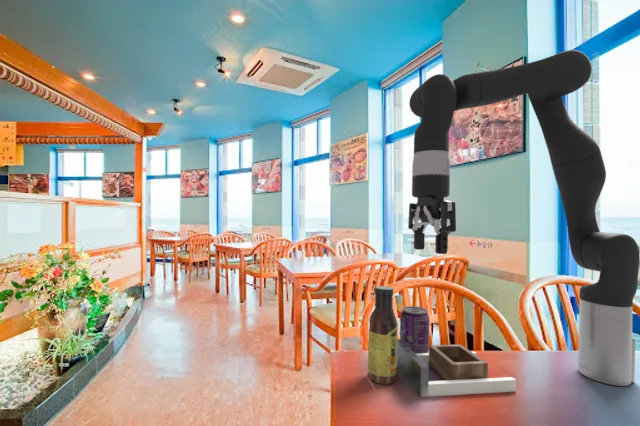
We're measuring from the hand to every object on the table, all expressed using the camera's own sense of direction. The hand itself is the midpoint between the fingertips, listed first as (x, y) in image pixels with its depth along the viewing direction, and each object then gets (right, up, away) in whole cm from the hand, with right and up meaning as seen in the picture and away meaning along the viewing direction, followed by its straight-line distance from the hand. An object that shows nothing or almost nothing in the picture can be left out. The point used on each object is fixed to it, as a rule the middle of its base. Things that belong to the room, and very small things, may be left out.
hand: (429, 251), depth 68 cm
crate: (+7, -29, +4) cm, 30 cm away
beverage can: (+1, -29, +14) cm, 32 cm away
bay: (+6, -29, +4) cm, 30 cm away
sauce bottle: (-10, -28, +3) cm, 30 cm away
